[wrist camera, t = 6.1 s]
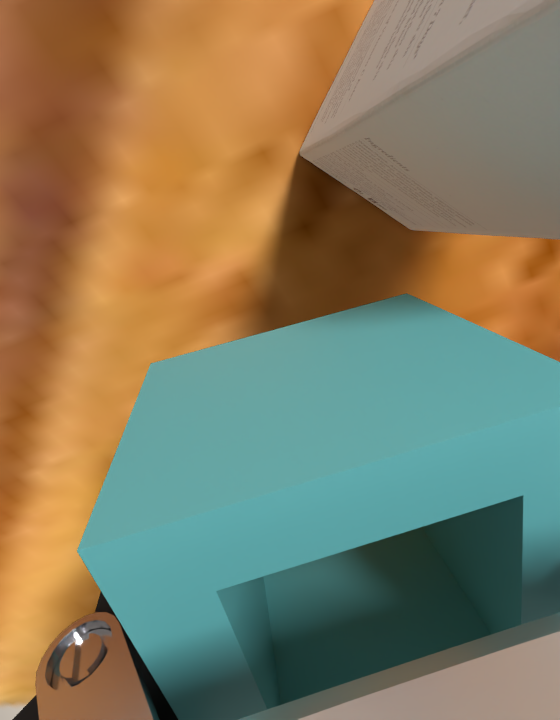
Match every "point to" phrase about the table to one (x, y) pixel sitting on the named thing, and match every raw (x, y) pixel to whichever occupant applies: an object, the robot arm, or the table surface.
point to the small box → (450, 116)
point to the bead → (329, 504)
